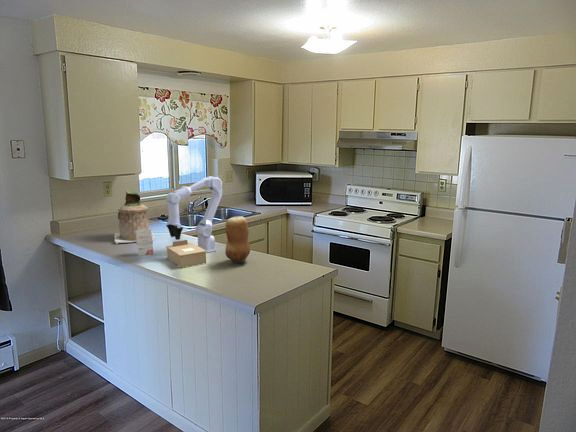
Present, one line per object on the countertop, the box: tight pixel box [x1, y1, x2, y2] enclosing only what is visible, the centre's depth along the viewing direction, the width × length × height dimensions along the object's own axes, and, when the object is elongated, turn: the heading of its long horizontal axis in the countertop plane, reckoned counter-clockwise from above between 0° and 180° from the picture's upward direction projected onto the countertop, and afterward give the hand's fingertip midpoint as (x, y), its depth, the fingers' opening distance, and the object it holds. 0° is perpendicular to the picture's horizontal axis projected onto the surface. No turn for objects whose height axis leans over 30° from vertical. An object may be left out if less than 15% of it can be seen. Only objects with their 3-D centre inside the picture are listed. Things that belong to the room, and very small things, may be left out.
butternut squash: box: [225, 215, 251, 264], centre depth 227 cm, size 14×13×25 cm
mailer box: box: [166, 248, 207, 268], centre depth 231 cm, size 14×20×6 cm
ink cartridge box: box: [136, 228, 154, 256], centre depth 243 cm, size 9×5×15 cm, turn 105°
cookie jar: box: [113, 190, 156, 245], centre depth 275 cm, size 25×25×32 cm
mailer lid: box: [165, 239, 208, 256], centre depth 230 cm, size 15×21×3 cm
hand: (175, 238), depth 239 cm, fingers open, 7 cm apart
